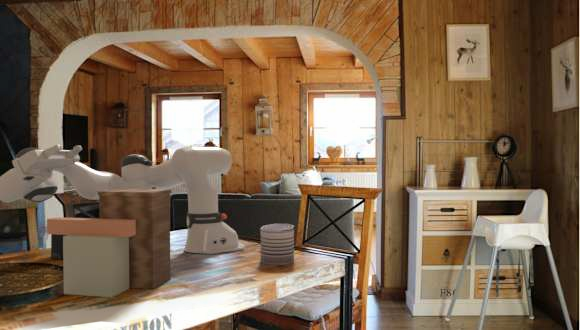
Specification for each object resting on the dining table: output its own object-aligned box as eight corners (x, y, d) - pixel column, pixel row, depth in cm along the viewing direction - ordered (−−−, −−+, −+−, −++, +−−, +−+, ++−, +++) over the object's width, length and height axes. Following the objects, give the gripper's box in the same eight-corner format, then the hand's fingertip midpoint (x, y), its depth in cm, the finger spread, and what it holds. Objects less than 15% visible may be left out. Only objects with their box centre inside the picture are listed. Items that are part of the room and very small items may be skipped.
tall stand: (98, 285, 132) (97, 191, 131) (120, 276, 142) (119, 188, 141) (153, 289, 128) (152, 192, 127) (171, 279, 138) (171, 189, 138)
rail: (46, 234, 127) (46, 219, 127) (56, 231, 131) (55, 217, 131) (128, 237, 122) (128, 221, 122) (135, 234, 126) (135, 219, 125)
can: (300, 261, 161) (300, 226, 161) (273, 266, 154) (273, 229, 154) (280, 256, 170) (280, 222, 170) (253, 260, 163) (253, 225, 163)
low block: (63, 294, 124) (63, 236, 124) (83, 285, 132) (82, 231, 132) (112, 297, 121) (111, 238, 121) (129, 288, 129) (128, 233, 129)
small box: (61, 260, 164) (60, 229, 164) (50, 258, 167) (49, 228, 167) (88, 254, 173) (88, 225, 173) (77, 252, 176) (77, 224, 176)
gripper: (63, 176, 161) (95, 155, 158) (16, 179, 141) (51, 155, 138) (55, 160, 161) (86, 139, 159) (7, 160, 141) (42, 137, 139)
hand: (70, 146), depth 148 cm, fingers open, 8 cm apart
